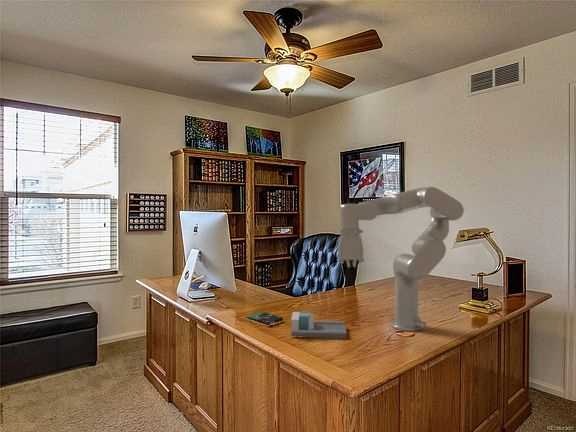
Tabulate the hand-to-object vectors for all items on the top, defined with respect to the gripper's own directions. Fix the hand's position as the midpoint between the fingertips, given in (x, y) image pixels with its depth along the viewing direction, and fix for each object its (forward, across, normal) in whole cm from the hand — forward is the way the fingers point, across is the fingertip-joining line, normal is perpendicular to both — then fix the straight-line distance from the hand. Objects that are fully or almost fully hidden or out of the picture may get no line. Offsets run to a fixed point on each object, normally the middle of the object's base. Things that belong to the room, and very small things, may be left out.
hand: (351, 276), depth 153 cm
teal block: (+20, +21, +4) cm, 29 cm away
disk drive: (+22, +40, -10) cm, 47 cm away
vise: (+22, +15, +4) cm, 27 cm away
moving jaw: (+20, +18, +4) cm, 27 cm away
